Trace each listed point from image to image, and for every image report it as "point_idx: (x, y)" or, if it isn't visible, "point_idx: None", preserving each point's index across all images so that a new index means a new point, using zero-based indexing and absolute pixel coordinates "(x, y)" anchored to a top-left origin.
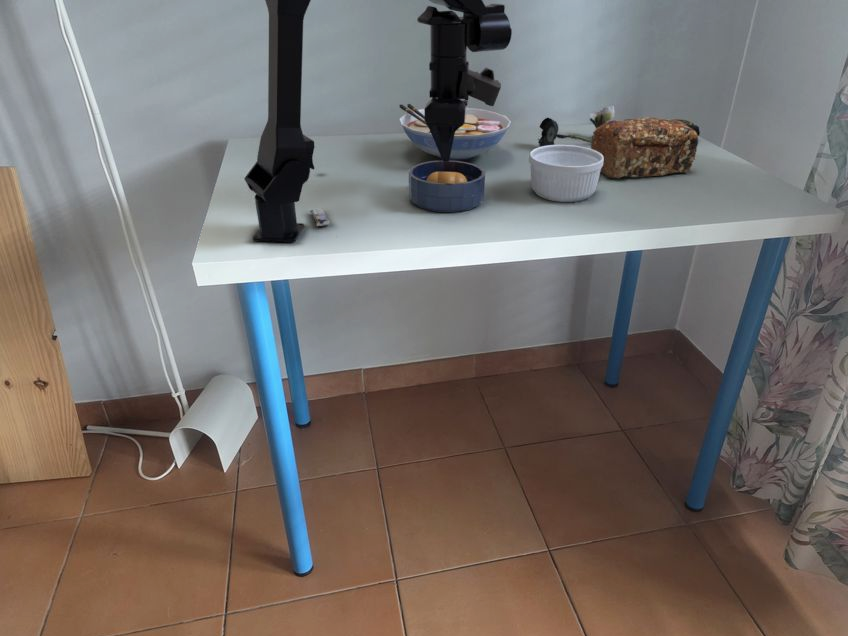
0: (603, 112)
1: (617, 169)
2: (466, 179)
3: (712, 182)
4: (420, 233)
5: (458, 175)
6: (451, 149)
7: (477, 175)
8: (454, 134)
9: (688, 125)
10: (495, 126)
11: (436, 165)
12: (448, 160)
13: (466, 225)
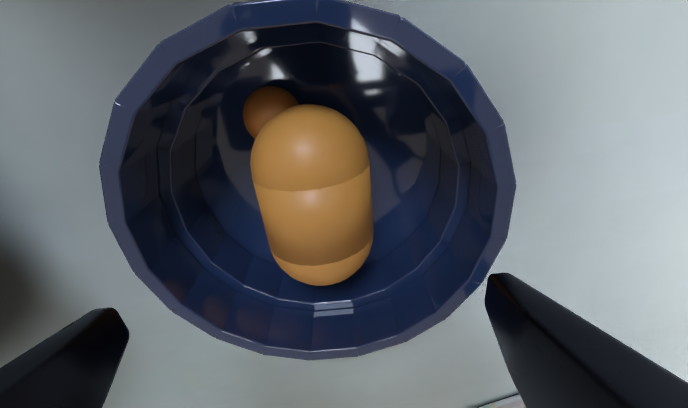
0: None
1: None
2: (298, 121)
3: None
4: (629, 201)
5: (326, 169)
6: (606, 333)
7: (192, 67)
8: (35, 370)
9: None
10: None
11: (180, 283)
12: (511, 277)
13: (587, 56)
